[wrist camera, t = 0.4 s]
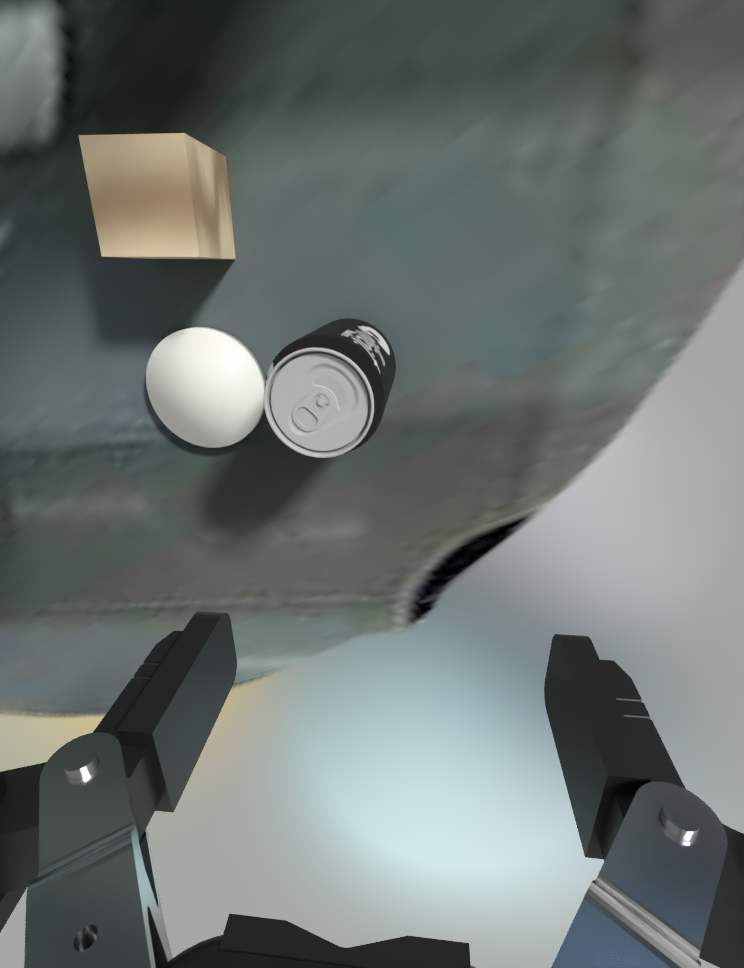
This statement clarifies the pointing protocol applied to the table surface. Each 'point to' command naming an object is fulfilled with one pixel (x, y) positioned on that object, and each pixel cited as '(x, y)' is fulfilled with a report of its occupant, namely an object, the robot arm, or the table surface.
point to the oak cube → (158, 196)
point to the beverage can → (330, 388)
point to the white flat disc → (206, 386)
